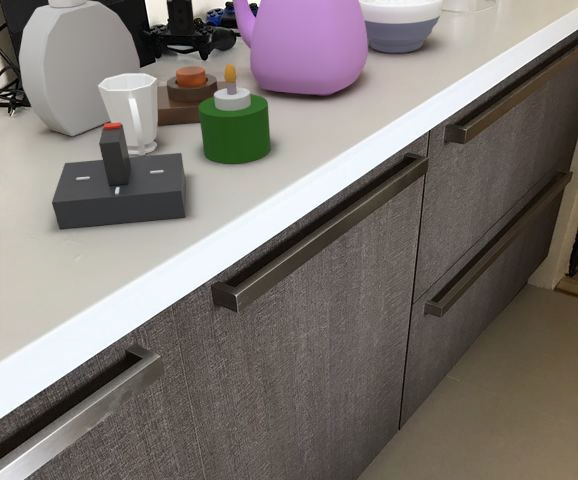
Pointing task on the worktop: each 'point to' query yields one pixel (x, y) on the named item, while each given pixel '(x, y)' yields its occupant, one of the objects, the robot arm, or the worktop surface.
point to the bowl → (399, 23)
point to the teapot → (304, 44)
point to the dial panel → (120, 192)
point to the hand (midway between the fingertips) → (183, 33)
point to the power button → (190, 76)
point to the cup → (133, 108)
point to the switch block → (184, 100)
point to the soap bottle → (73, 62)
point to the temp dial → (115, 154)
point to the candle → (234, 124)
